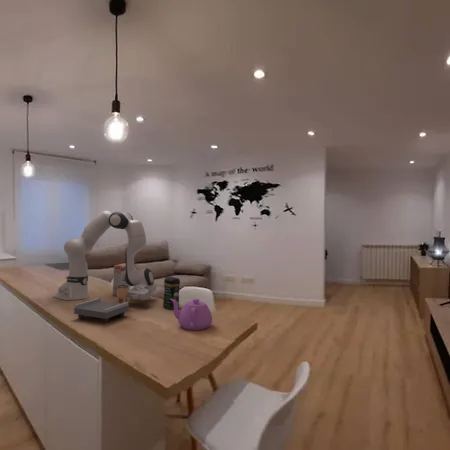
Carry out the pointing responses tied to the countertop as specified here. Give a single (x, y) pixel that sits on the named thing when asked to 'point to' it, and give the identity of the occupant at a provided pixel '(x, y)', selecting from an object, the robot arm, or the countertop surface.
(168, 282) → the coffee jar
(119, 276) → the cracker box
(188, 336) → the countertop surface
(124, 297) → the canister
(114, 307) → the grey rimmed tray
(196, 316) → the teakettle
